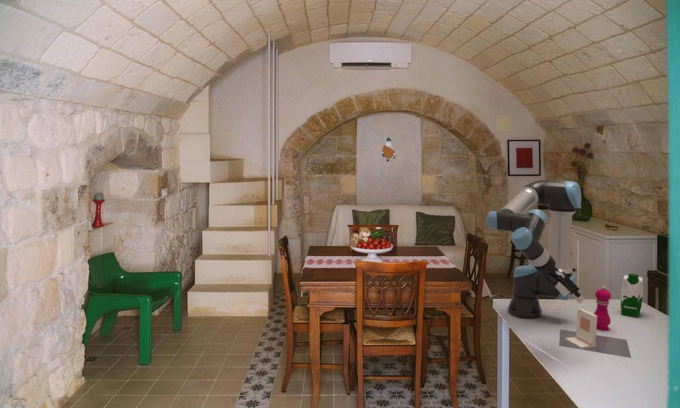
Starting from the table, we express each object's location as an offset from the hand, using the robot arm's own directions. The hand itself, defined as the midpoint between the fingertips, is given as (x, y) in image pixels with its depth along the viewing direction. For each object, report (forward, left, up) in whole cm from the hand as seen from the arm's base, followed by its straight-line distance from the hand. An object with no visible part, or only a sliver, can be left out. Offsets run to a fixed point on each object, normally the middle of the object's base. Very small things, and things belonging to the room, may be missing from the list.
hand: (574, 297), depth 192 cm
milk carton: (-55, +26, -21) cm, 64 cm away
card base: (-3, +4, -20) cm, 20 cm away
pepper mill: (-26, +12, -21) cm, 35 cm away
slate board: (-6, +8, -21) cm, 23 cm away
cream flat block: (-5, +6, -19) cm, 20 cm away
